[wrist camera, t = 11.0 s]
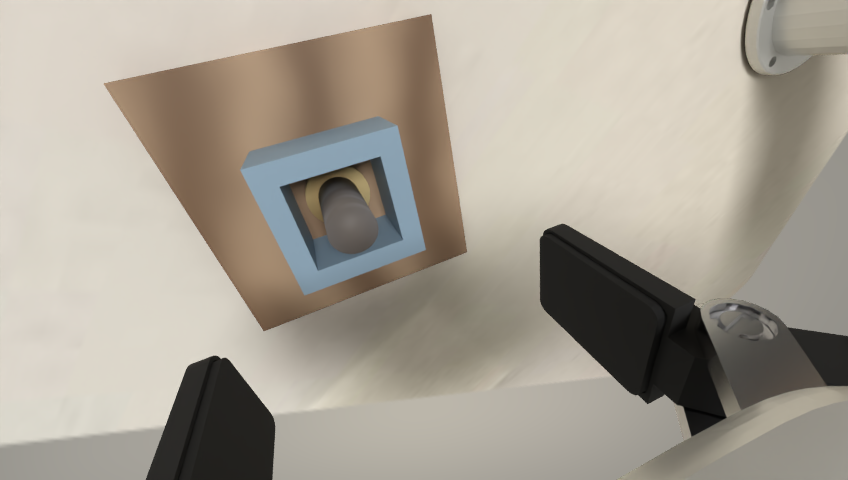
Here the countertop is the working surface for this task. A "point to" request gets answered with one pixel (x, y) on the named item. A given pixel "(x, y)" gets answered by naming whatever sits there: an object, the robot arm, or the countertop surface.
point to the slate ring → (319, 155)
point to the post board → (290, 119)
